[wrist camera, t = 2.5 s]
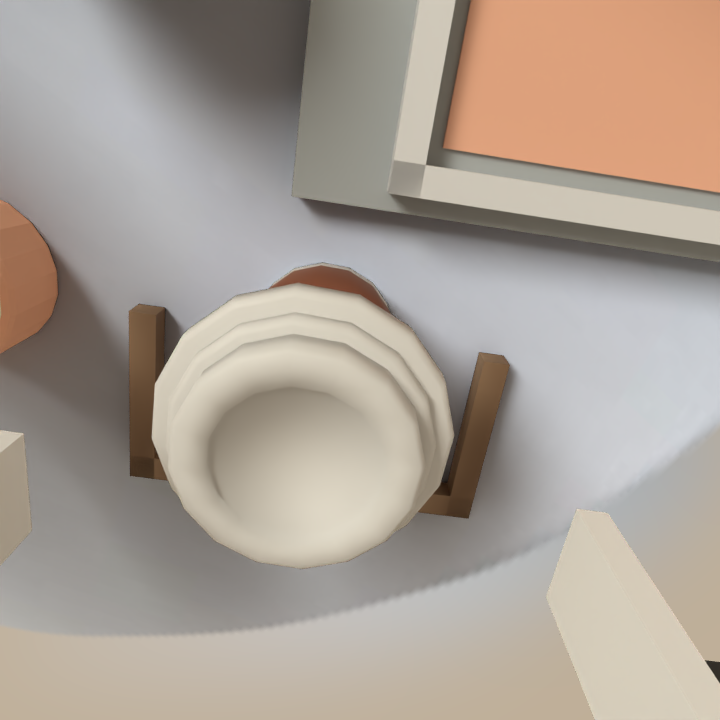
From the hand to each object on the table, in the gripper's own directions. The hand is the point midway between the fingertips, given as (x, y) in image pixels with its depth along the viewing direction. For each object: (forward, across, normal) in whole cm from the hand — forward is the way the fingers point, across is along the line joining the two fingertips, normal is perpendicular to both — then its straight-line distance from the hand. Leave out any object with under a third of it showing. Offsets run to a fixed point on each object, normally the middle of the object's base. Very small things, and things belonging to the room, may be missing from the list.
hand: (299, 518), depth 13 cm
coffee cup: (+14, 0, 0) cm, 14 cm away
